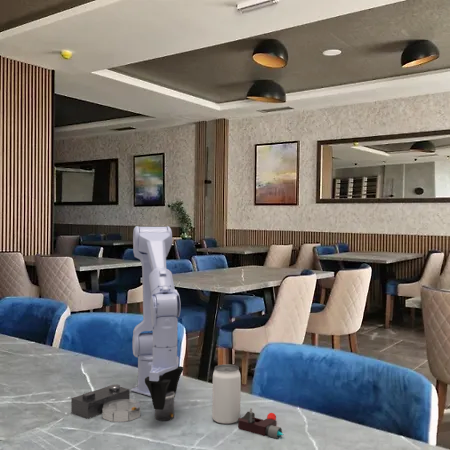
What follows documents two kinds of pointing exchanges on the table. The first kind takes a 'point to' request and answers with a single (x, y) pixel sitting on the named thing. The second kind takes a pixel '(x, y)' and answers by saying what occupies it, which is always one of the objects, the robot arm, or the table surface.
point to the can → (226, 394)
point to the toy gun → (260, 425)
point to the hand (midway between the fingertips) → (164, 403)
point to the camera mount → (107, 404)
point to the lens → (166, 408)
